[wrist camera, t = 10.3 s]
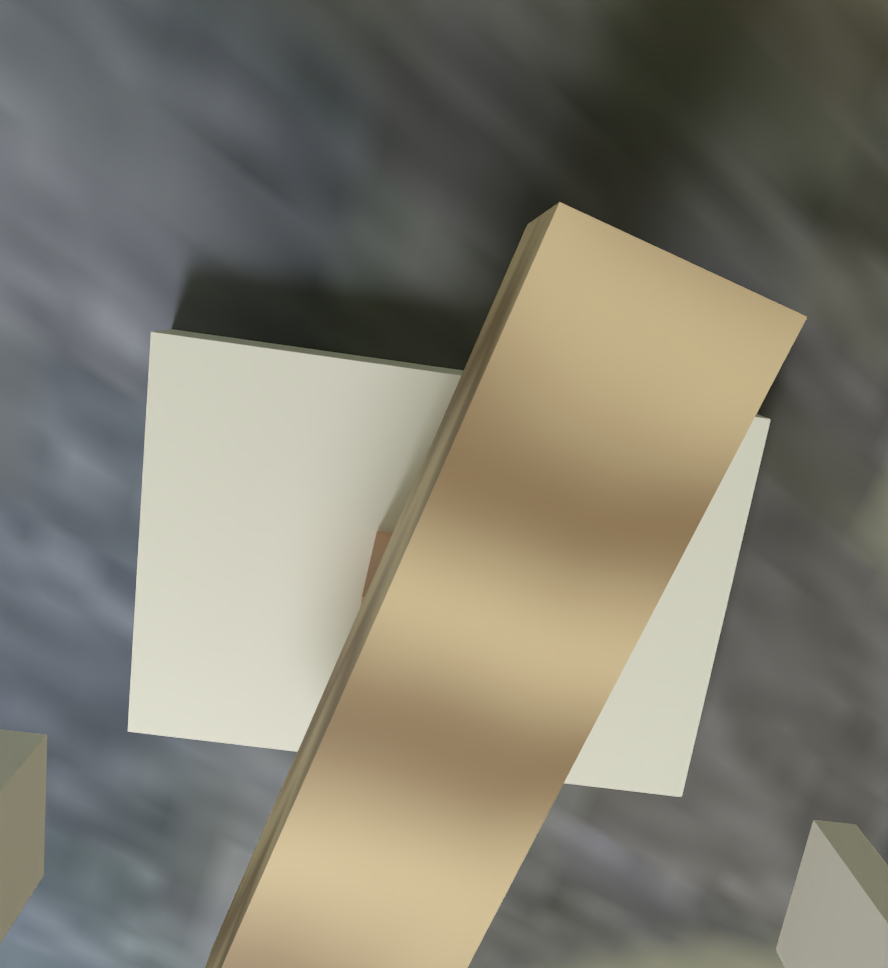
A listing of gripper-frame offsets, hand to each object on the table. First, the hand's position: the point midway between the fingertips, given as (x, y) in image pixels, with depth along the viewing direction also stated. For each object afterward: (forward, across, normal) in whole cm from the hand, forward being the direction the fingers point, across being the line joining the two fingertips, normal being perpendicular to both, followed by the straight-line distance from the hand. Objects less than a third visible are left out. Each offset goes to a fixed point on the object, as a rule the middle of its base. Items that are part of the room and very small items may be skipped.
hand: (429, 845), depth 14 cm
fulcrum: (+16, 0, -1) cm, 16 cm away
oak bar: (+8, 0, 0) cm, 8 cm away
